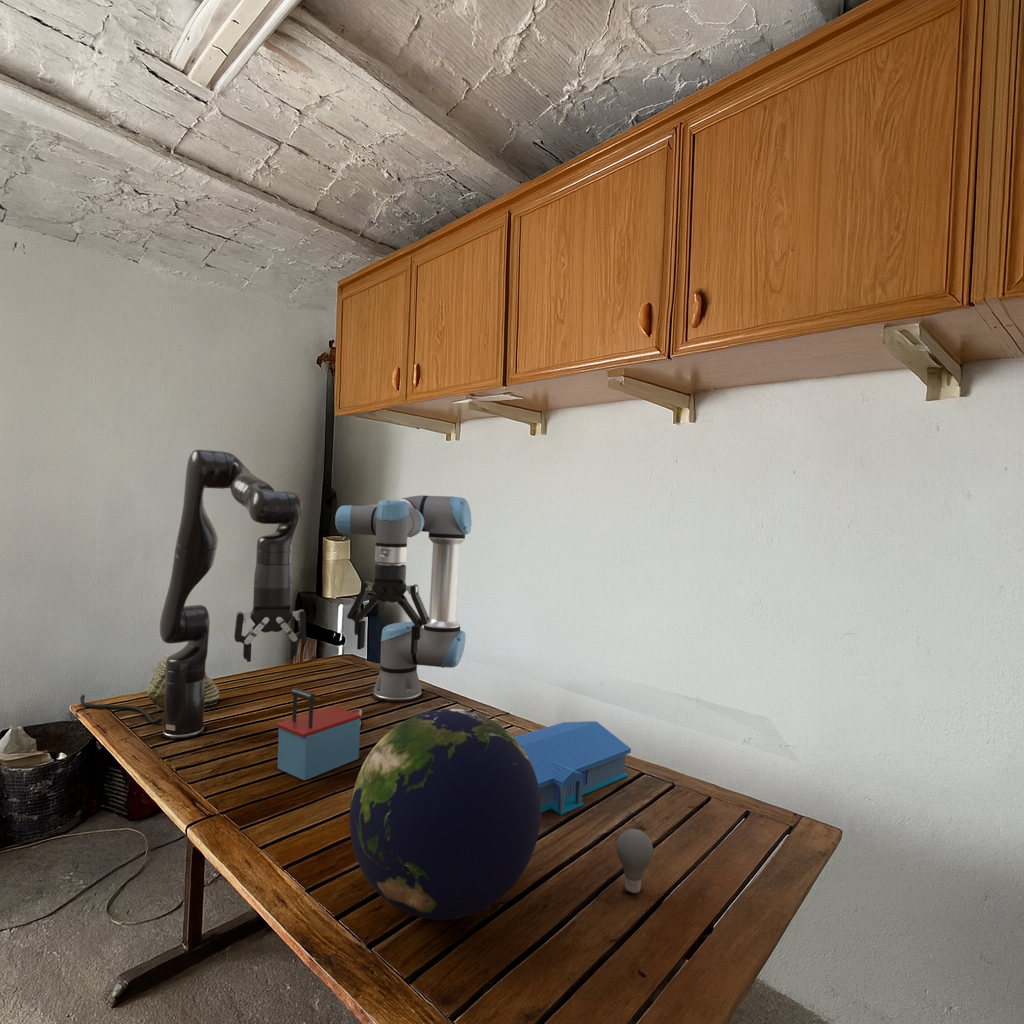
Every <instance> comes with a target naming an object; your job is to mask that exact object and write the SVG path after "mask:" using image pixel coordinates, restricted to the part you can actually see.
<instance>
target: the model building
mask: <svg viewBox="0 0 1024 1024" xmlns="http://www.w3.org/2000/svg"><path fill="white" fill-rule="evenodd" d="M513 737H514V738H515V739H516V740H517V742H518V743H519V744H520V745H521V746H522V748H523V749H524V751H525V753H526V754H527V756H528V758H529V759H530V761H531V764H532V767H533V769H534V772H535V775H536V778H537V781H538V786H539V791H540V799H541V814H542V813H544V812H546V811H549V810H551V811H553V812H554V813H557V814H559V815H561V816H562V815H564V814H567V813H569V812H571V811H574V810H576V809H578V808H581V807H583V806H584V805H585V802H583V796H584V795H587V794H589V793H590V792H594V791H596V790H598V789H601V788H603V787H605V786H608V785H610V784H612V783H615V782H617V781H619V780H621V779H624V778H627V777H628V776H629V774H628V773H627V772H625V770H626V769H625V768H626V755H629V754H631V753H632V748H631V747H629V746H628V745H627V744H626V743H625V742H623V741H622V740H621V739H619V737H617V736H616V735H614V734H613V733H612V732H610V730H609V729H607V728H606V727H604V726H603V725H602V724H600V722H598V721H597V720H593V721H591V720H589V721H587V720H586V721H564V722H560V723H556V724H553V725H550V726H546V727H543V728H540V729H536V730H532V731H529V732H526V733H523V734H519V735H516V736H513Z"/></svg>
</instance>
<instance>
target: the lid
mask: <svg viewBox="0 0 1024 1024" xmlns="http://www.w3.org/2000/svg"><path fill="white" fill-rule="evenodd" d="M290 695H292V715H291V716H292V717H291V718H289V719H286V720H284V721H280V722H277V723H276V728H278V729H279V728H281V729H284V730H286V731H289V732H291V733H294V734H296V735H299V736H302V737H306V736H309V735H312V734H315V733H318V732H321V731H324V730H327V729H330V728H333V727H336V726H339V725H342V724H345V723H348V722H350V721H353V720H356V719H359V718H360V719H361V717H360V715H359V714H356V713H353V712H350V711H351V710H347V709H344V708H341V707H338V706H335V705H333V706H329V707H326V708H322V709H320V710H316V711H314V701H315V700H316V698H317V695H316V694H315V693H313V692H310V691H307V690H304V689H301V688H297V687H293V688H292V689H291V691H290ZM298 698H300V699H303V700H306V701H308V713H306V714H303V715H300V716H298V715H297V712H298Z"/></svg>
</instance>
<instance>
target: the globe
mask: <svg viewBox="0 0 1024 1024" xmlns="http://www.w3.org/2000/svg"><path fill="white" fill-rule="evenodd" d="M514 737H515V736H513V735H512V734H511V732H509V731H508V730H507V729H505V727H503V726H502V725H501V724H499V723H498V722H497V721H494V720H493V719H491V718H489V717H486V716H485V715H482V714H479V713H478V712H474V711H469V710H465V709H462V708H441V709H434V710H429V711H425V712H422V713H419V714H416V715H414V716H412V717H410V718H408V719H406V720H404V721H402V722H400V723H399V724H397V725H396V726H394V728H392V729H390V731H388V732H387V733H386V734H385V735H384V736H383V737H382V738H381V739H380V740H379V741H378V742H377V743H376V744H375V746H373V748H372V749H371V750H370V752H369V753H368V755H367V757H366V758H365V760H364V762H363V763H362V765H361V768H360V770H359V772H358V775H357V777H356V780H355V783H354V786H353V789H352V793H351V799H350V804H349V805H350V806H349V832H350V833H349V834H350V841H351V845H352V849H353V853H354V856H355V857H356V862H357V864H358V866H359V868H360V870H361V871H362V873H363V875H364V877H365V879H366V880H367V881H368V883H369V884H370V885H371V887H372V888H373V889H374V890H375V892H376V893H377V894H378V895H380V897H381V898H382V899H384V900H385V901H386V902H387V903H388V904H390V905H392V906H393V907H395V908H396V909H398V910H400V911H402V912H404V913H405V914H408V915H411V916H413V917H416V918H421V919H426V920H433V921H448V920H449V921H450V920H457V919H462V918H466V917H468V916H472V915H474V914H477V913H479V912H481V911H483V910H485V909H487V908H489V907H490V906H491V905H493V904H494V903H496V902H497V901H499V900H500V899H501V898H502V897H503V896H504V895H506V894H507V893H508V892H509V891H510V890H511V889H512V887H514V885H515V884H516V883H517V881H518V880H519V879H520V878H521V877H522V875H523V874H524V872H525V870H526V868H527V867H528V865H529V863H530V860H531V858H532V856H533V853H534V851H535V848H536V846H537V842H538V839H539V833H540V828H541V820H542V813H541V799H540V791H539V786H538V781H537V778H536V775H535V772H534V769H533V767H532V764H531V761H530V759H529V758H528V756H527V754H526V753H525V751H524V749H523V748H522V746H521V745H520V744H519V743H518V742H517V740H516V739H515V738H514Z"/></svg>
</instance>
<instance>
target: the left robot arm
mask: <svg viewBox="0 0 1024 1024" xmlns="http://www.w3.org/2000/svg"><path fill="white" fill-rule="evenodd" d="M185 471H186V472H185V481H184V493H183V503H182V504H183V505H182V512H181V518H180V523H179V528H178V533H177V537H176V542H175V547H174V553H173V554H174V555H173V562H172V567H171V575H170V580H169V585H168V589H167V593H166V596H165V599H164V603H163V608H162V611H161V615H160V619H159V620H160V621H159V636H160V638H161V641H163V642H164V644H171V645H172V644H180V643H181V644H182V643H186V644H185V646H184V647H182V648H181V649H180V650H178V651H176V652H174V653H172V654H170V655H171V656H169V657H168V658H167V660H166V674H165V705H164V710H163V712H161V716H158V717H157V718H156V719H153V717H152V716H151V714H150V713H148V712H147V711H146V710H145V709H143V708H142V707H139V706H136V705H124V704H122V705H121V704H96V703H89V702H85V697H86V696H85V694H82V695H80V698H79V700H80V705H82V706H83V707H85V708H96V709H116V710H117V709H119V710H121V709H122V710H133V711H137V712H139V713H141V714H142V715H143V716H145V717H146V718H147V720H148V722H149V723H151V724H158V723H159V722H161V725H162V726H163V730H162V737H164V738H166V739H169V740H185V739H190V738H191V739H192V738H194V737H197V736H199V735H202V734H203V732H204V730H205V729H204V727H205V725H204V722H205V721H204V718H205V706H204V693H205V672H206V664H207V663H206V662H207V658H208V650H209V639H210V629H211V627H210V626H211V619H210V613H209V610H208V608H207V607H206V606H205V605H203V604H192V605H191V604H190V605H186V602H187V600H188V598H189V596H190V594H191V592H192V591H193V590H194V589H195V587H196V586H197V585H198V584H199V583H200V582H201V581H202V580H203V578H204V577H205V576H206V575H207V574H208V573H209V571H210V570H211V569H212V568H213V566H214V563H215V559H216V554H217V548H218V543H219V538H218V534H217V531H216V529H215V527H214V525H213V523H212V521H211V519H210V517H209V516H208V513H207V512H206V509H205V505H204V492H205V489H215V490H217V489H218V490H219V489H220V490H223V489H230V494H231V496H232V497H233V499H234V500H235V501H236V502H237V503H238V504H240V505H241V506H243V507H244V508H246V510H247V512H248V514H249V516H250V519H251V520H252V521H254V522H256V523H258V524H262V525H277V527H276V529H275V531H273V533H269V534H265V535H261V536H259V538H258V539H257V541H256V554H255V555H256V558H255V561H256V562H255V569H254V574H253V575H254V576H253V579H254V580H253V599H252V600H253V602H252V610H251V612H243V611H237V612H236V617H235V618H236V619H235V626H234V635H233V638H234V641H235V642H236V643H242V644H243V648H242V649H243V651H242V656H243V659H244V660H245V661H246V662H247V663H251V662H252V643H251V642H252V641H253V640H254V639H255V638H256V637H258V635H259V634H260V632H262V633H264V634H265V633H272V632H273V633H279V632H281V631H282V630H283V632H284V633H285V634H286V635H287V636H288V638H289V640H288V659H289V660H293V659H294V657H296V656H297V653H298V651H297V650H298V642H299V640H301V639H305V638H306V637H307V612H306V611H305V610H304V609H302V608H300V609H298V610H292V608H291V607H292V606H291V605H292V584H293V576H292V575H293V571H292V553H293V552H292V551H293V543H294V539H295V536H296V532H297V530H298V526H299V524H300V521H301V517H302V514H303V503H302V500H301V498H300V497H299V495H297V493H295V492H293V491H284V490H283V491H281V490H278V491H277V490H275V489H274V488H273V486H271V485H270V484H269V483H268V482H266V481H264V480H263V479H261V478H259V477H257V476H256V475H254V474H253V473H252V472H251V471H250V470H249V469H248V468H247V466H245V464H244V463H243V462H242V461H241V460H240V458H238V457H237V456H236V455H234V454H233V453H231V452H227V451H222V450H221V451H220V450H212V449H211V450H210V449H195V450H193V451H192V452H191V453H190V454H189V457H188V459H187V464H186V470H185ZM293 617H294V619H295V620H296V621H297V622H298V632H294V631H293V630H292V628H291V627H290V626H289V625H288V623H289V622H290V621H291V619H292V618H293ZM249 619H251V621H252V622H253V625H252V626H251V628H250V629H249V631H248V632H247V633H246V635H243V629H244V624H246V623H247V622H248V620H249Z"/></svg>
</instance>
